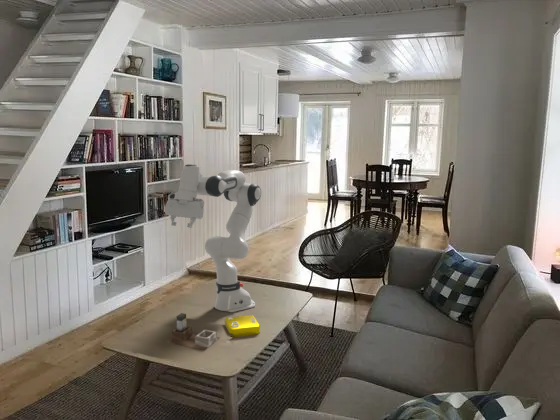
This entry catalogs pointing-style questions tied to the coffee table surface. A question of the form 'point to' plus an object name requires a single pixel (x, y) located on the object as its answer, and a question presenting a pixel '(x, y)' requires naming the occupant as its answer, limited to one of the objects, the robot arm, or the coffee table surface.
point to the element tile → (242, 325)
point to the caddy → (194, 338)
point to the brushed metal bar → (181, 322)
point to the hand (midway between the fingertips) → (181, 226)
